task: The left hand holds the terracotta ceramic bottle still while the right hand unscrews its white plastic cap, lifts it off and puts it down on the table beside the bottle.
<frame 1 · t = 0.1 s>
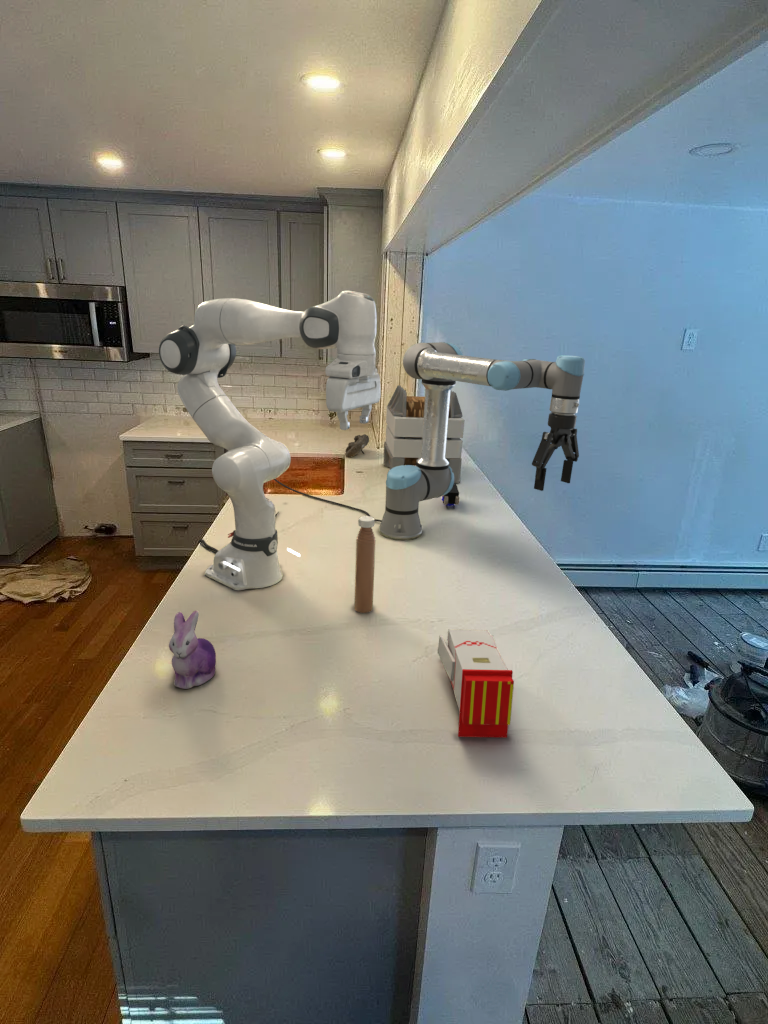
left hand: (354, 426, 135), 48 cm above the counter, tool pointing down, fingers open, 8 cm apart
right hand: (552, 485, 166), 28 cm above the counter, tool pointing down, fingers open, 13 cm apart
grey slatted box: (419, 473, 275), on the counter
bottle: (363, 608, 150), on the counter
figurine character: (449, 504, 232), on the counter
fossil: (356, 453, 306), on the counter
figurine: (195, 677, 119), on the counter
cap: (366, 519, 141), point 25 cm above the counter, screwed on, not yet turned
feather: (277, 515, 212), on the counter
toy: (469, 691, 119), on the counter
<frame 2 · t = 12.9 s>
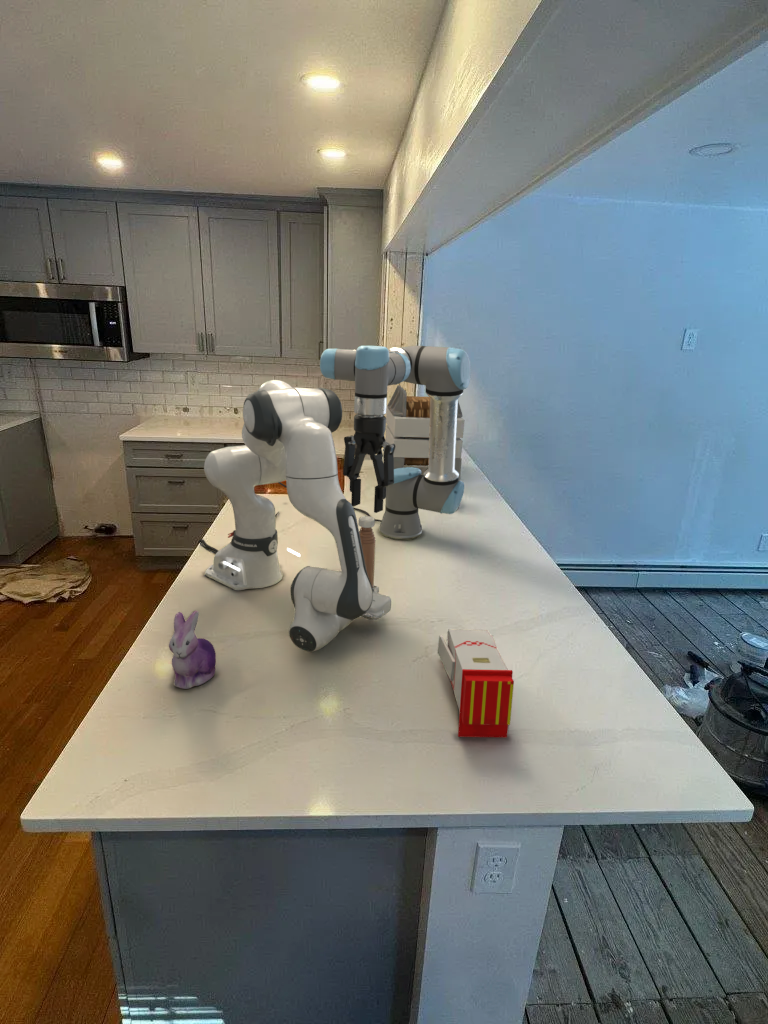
left hand: (365, 585, 148), 6 cm above the counter, tool horizontal, fingers closed on bottle, 5 cm apart
right hand: (366, 507, 140), 28 cm above the counter, tool pointing down, fingers open, 6 cm apart
bottle: (363, 608, 150), on the counter, touching left hand
everything else where it was.
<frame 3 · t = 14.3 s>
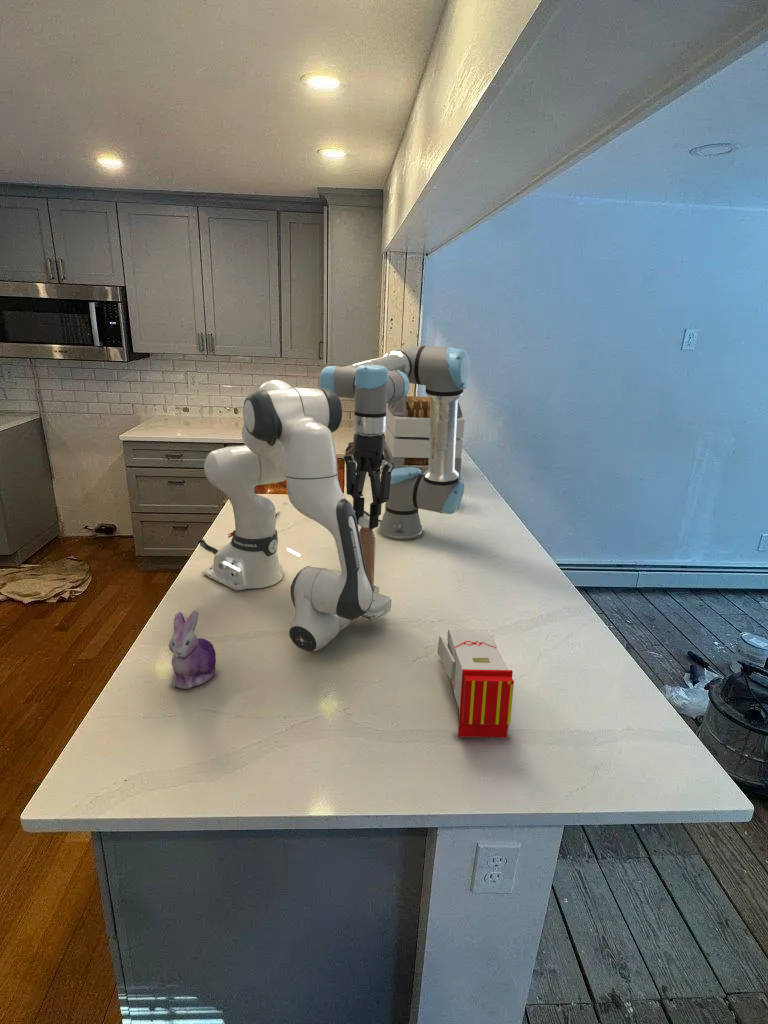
left hand: (365, 585, 148), 6 cm above the counter, tool horizontal, fingers closed on bottle, 5 cm apart
right hand: (366, 525, 142), 24 cm above the counter, tool pointing down, fingers closed on cap, 4 cm apart
bottle: (363, 608, 150), on the counter, touching left hand
cap: (366, 519, 141), point 25 cm above the counter, screwed on, not yet turned, touching right hand
everything else where it was.
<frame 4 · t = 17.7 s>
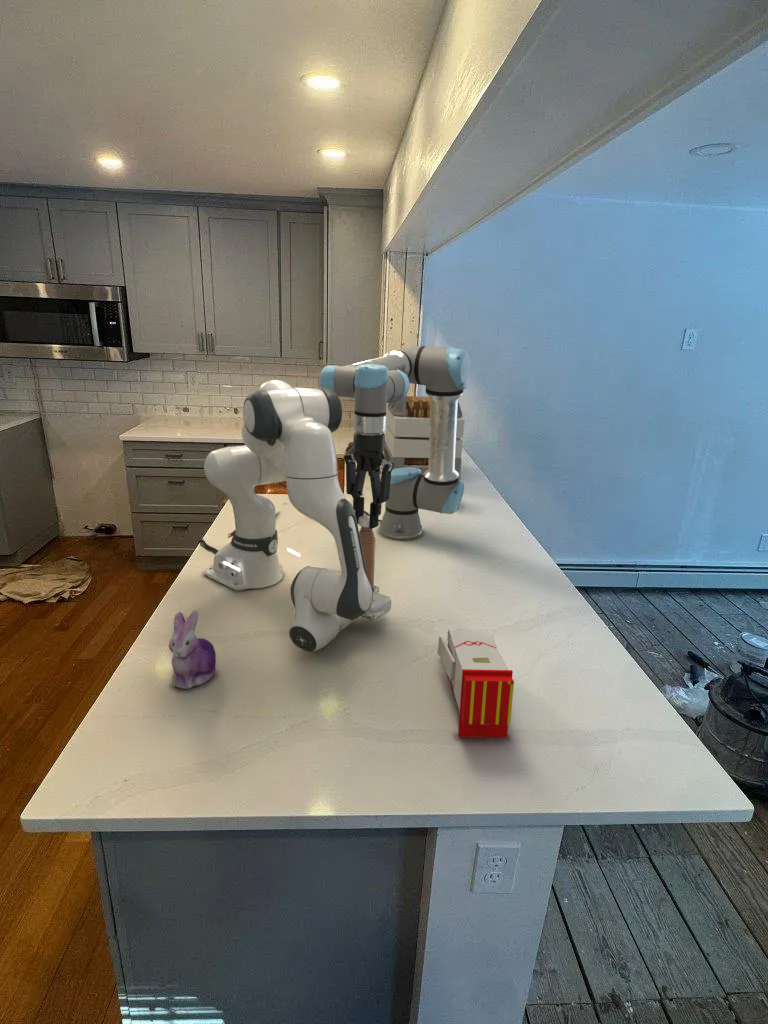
left hand: (365, 585, 148), 6 cm above the counter, tool horizontal, fingers closed on bottle, 5 cm apart
right hand: (366, 524, 142), 24 cm above the counter, tool pointing down, fingers closed on cap, 4 cm apart
bottle: (363, 608, 150), on the counter, touching left hand
cap: (366, 519, 141), point 25 cm above the counter, turned 104° so far, risen 0.1 cm, still on its thread, touching right hand
everything else where it was.
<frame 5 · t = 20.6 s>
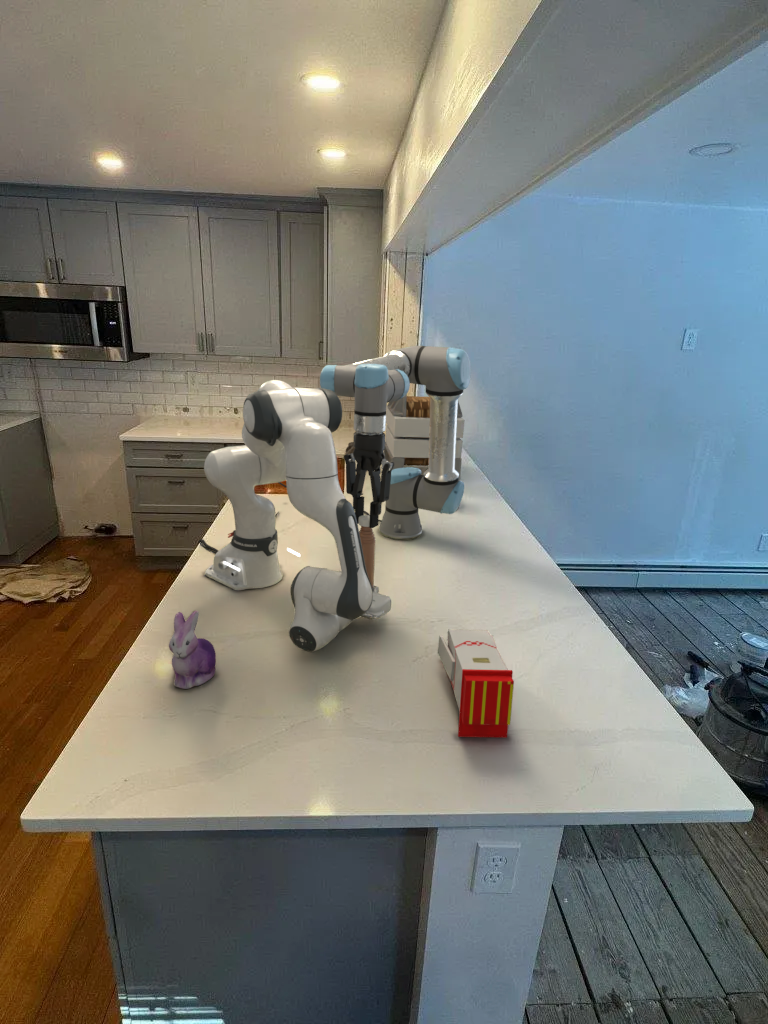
left hand: (365, 585, 148), 6 cm above the counter, tool horizontal, fingers closed on bottle, 5 cm apart
right hand: (366, 524, 142), 24 cm above the counter, tool pointing down, fingers closed on cap, 4 cm apart
bottle: (363, 608, 150), on the counter, touching left hand
cap: (366, 518, 141), point 25 cm above the counter, turned 209° so far, risen 0.2 cm, still on its thread, touching right hand
everything else where it was.
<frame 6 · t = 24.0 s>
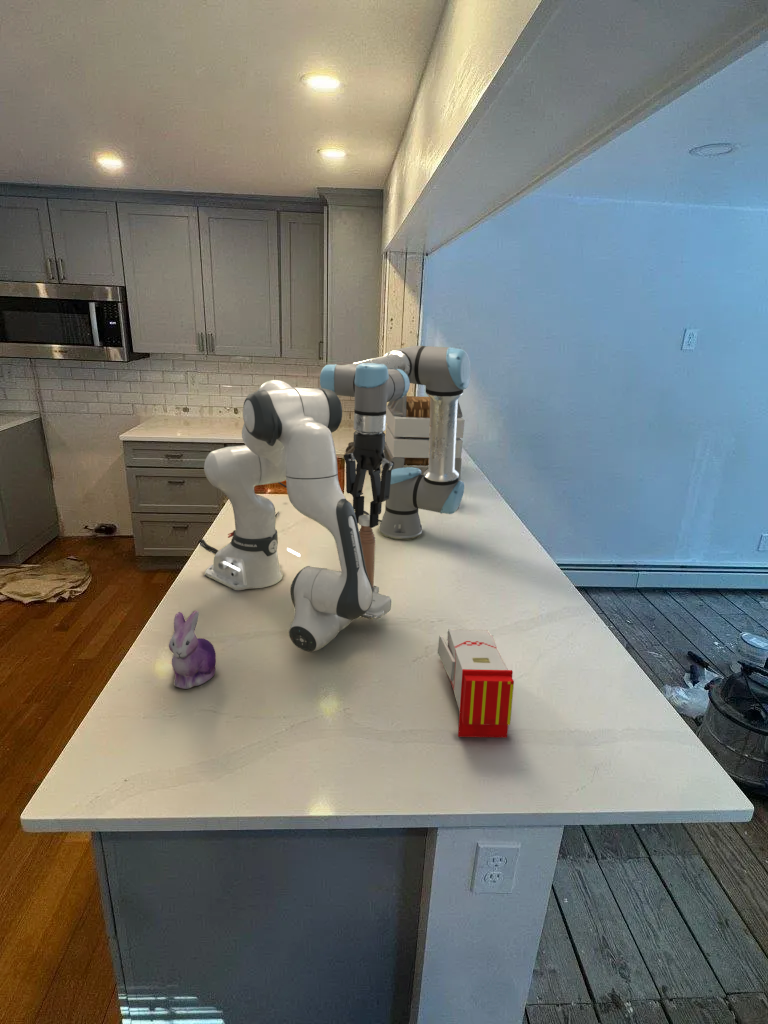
left hand: (365, 585, 148), 6 cm above the counter, tool horizontal, fingers closed on bottle, 5 cm apart
right hand: (366, 523, 141), 24 cm above the counter, tool pointing down, fingers closed on cap, 4 cm apart
bottle: (363, 608, 150), on the counter, touching left hand
cap: (366, 518, 141), point 25 cm above the counter, turned 313° so far, risen 0.4 cm, still on its thread, touching right hand
everything else where it was.
when the right hand's fingers open (1 cm above the counter, at t = 30.8 s): cap drops 1 cm, point 1 cm above the counter.
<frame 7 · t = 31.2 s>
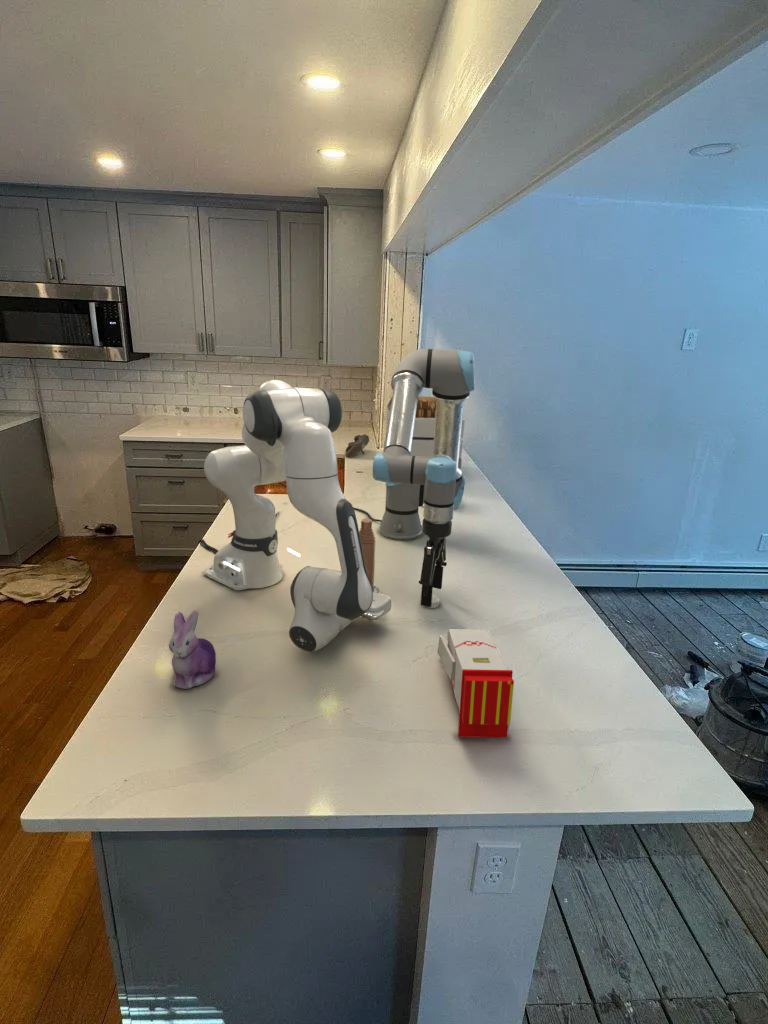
left hand: (365, 585, 148), 6 cm above the counter, tool horizontal, fingers closed on bottle, 5 cm apart
right hand: (431, 596, 152), 2 cm above the counter, tool pointing down, fingers open, 10 cm apart
bottle: (363, 608, 150), on the counter, touching left hand
cap: (431, 599, 153), point 1 cm above the counter, off its thread
everything else where it was.
when the left hand's fingers open (6 cm above the counter, at t = 32.1 s): bottle stays where it is, on the counter.
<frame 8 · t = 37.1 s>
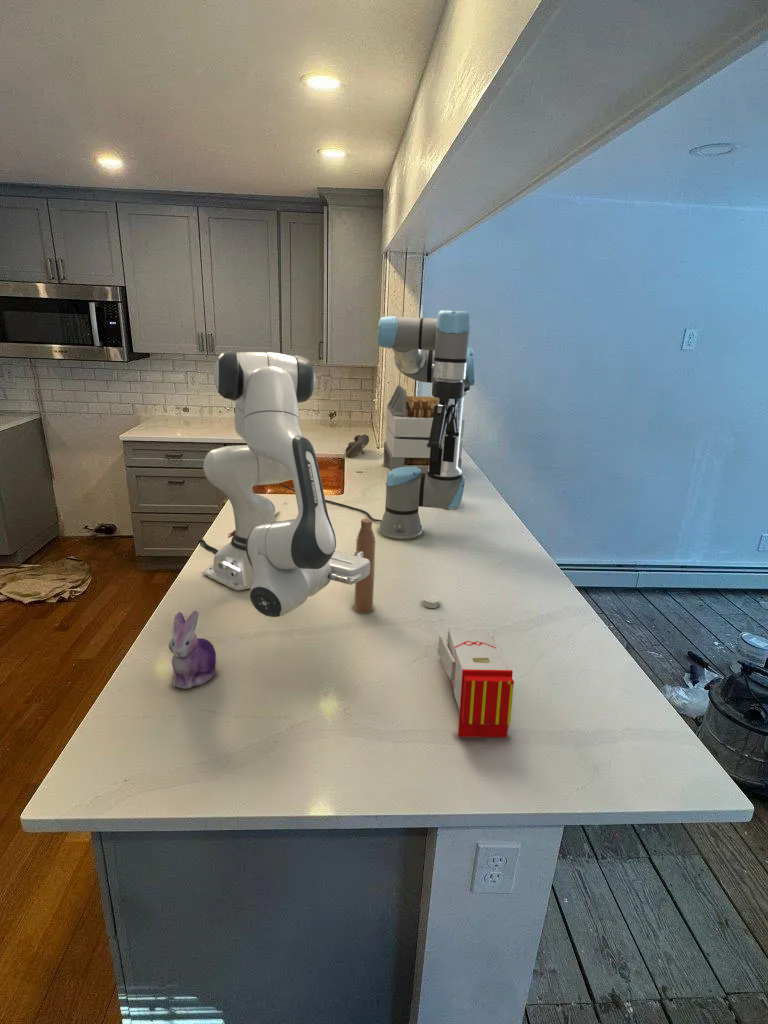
left hand: (343, 549, 133), 21 cm above the counter, tool horizontal, fingers open, 8 cm apart
right hand: (441, 467, 140), 38 cm above the counter, tool pointing down, fingers open, 13 cm apart
bottle: (363, 608, 150), on the counter
everything else where it was.
at the end: cap came off its thread; cap point 1.4 cm above the counter; the left hand is holding nothing; the right hand is holding nothing; bottle tilted 0°; bottle moved 0.0 cm from its start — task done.
